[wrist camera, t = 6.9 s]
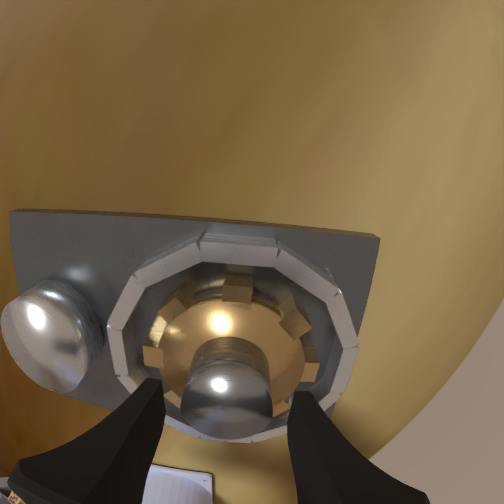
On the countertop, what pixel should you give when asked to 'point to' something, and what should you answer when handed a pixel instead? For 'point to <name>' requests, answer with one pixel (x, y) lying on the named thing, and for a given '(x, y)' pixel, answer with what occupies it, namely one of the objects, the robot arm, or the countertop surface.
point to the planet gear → (231, 356)
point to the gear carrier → (162, 285)
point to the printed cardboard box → (5, 487)
